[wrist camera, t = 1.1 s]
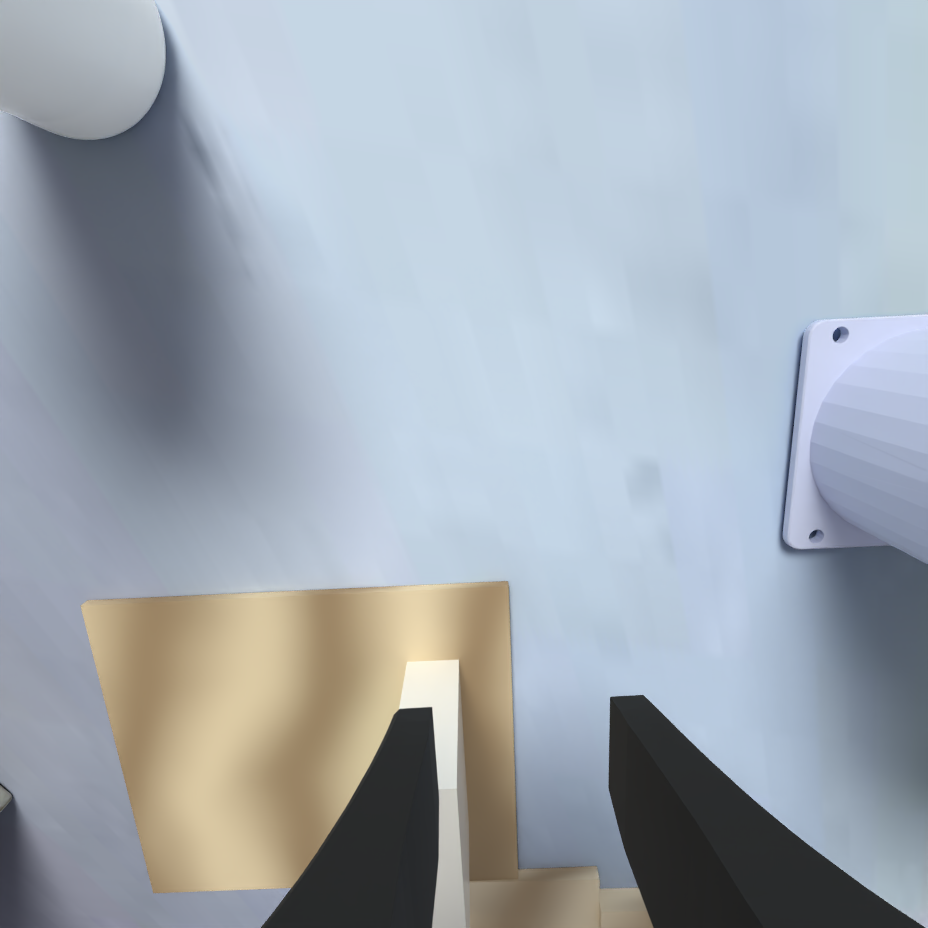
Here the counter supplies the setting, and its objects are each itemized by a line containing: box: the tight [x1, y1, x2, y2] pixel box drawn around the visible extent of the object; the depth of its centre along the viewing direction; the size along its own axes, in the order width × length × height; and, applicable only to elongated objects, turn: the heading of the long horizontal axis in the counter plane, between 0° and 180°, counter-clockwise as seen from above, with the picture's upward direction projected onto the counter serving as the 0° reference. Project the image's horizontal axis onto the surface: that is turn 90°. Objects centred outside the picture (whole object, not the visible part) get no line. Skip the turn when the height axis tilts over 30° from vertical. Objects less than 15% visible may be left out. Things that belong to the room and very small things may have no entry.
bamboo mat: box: [81, 581, 518, 893], centre depth 22 cm, size 16×14×1 cm
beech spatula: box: [469, 866, 653, 928], centre depth 24 cm, size 13×4×1 cm, turn 93°
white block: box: [399, 660, 470, 928], centre depth 19 cm, size 2×8×6 cm, turn 3°
